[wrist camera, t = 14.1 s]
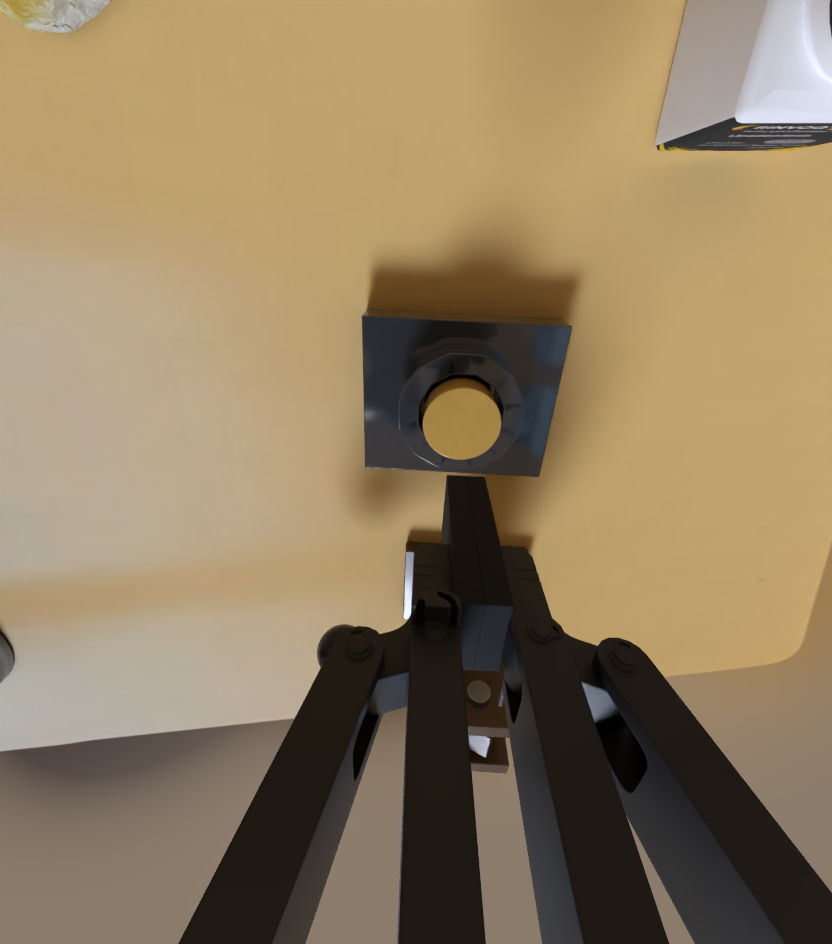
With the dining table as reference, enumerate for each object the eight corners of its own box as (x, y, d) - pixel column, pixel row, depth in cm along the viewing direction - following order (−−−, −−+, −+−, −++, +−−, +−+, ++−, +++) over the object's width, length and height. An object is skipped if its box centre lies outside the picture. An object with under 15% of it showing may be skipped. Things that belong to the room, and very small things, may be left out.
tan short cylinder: (421, 444, 26) (420, 458, 25) (425, 375, 24) (424, 385, 22) (492, 448, 26) (495, 462, 25) (502, 379, 24) (507, 389, 22)
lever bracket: (403, 609, 39) (390, 778, 27) (406, 541, 35) (392, 705, 23) (512, 615, 39) (547, 788, 27) (527, 548, 35) (577, 716, 23)
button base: (368, 454, 31) (360, 482, 27) (366, 309, 26) (356, 322, 22) (533, 463, 31) (545, 493, 27) (563, 319, 26) (583, 334, 22)
